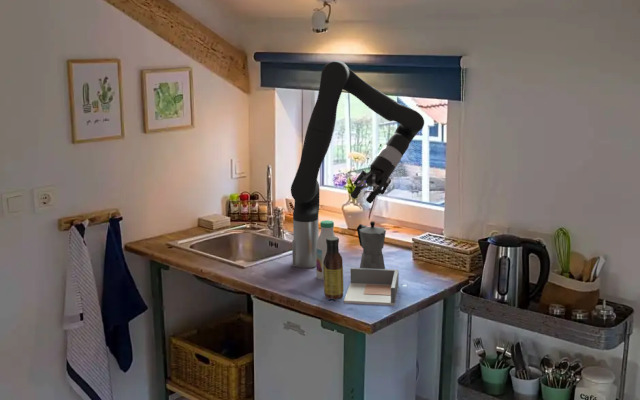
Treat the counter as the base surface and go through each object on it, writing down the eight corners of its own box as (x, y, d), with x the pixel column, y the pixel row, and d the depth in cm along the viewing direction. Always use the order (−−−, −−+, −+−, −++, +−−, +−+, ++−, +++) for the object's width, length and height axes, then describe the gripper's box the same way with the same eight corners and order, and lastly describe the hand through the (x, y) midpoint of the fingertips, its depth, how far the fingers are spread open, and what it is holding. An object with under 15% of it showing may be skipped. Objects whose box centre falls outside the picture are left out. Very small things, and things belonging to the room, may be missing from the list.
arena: (343, 303, 231) (343, 285, 230) (351, 283, 248) (351, 267, 247) (394, 305, 228) (394, 287, 227) (398, 286, 245) (398, 269, 244)
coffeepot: (394, 272, 259) (394, 223, 255) (373, 278, 254) (373, 227, 250) (368, 262, 271) (368, 215, 267) (347, 266, 266) (347, 218, 262)
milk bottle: (340, 274, 258) (340, 219, 254) (336, 281, 251) (335, 225, 246) (319, 272, 260) (318, 218, 255) (314, 280, 253) (313, 224, 248)
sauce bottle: (331, 292, 241) (330, 233, 236) (347, 295, 237) (347, 236, 233) (319, 298, 235) (319, 238, 231) (336, 301, 232) (335, 241, 227)
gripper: (367, 152, 253) (341, 189, 249) (393, 157, 241) (366, 196, 238) (379, 165, 257) (354, 202, 253) (406, 171, 245) (379, 209, 242)
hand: (360, 199), depth 246 cm, fingers open, 8 cm apart
